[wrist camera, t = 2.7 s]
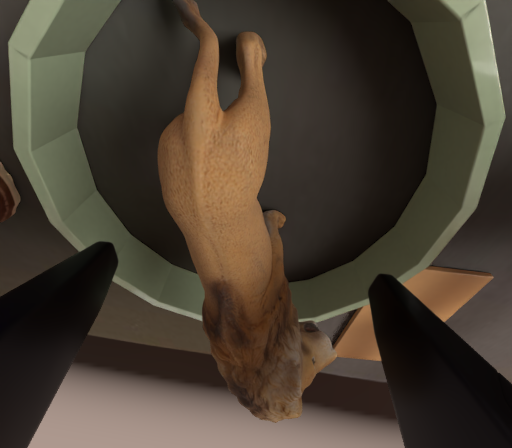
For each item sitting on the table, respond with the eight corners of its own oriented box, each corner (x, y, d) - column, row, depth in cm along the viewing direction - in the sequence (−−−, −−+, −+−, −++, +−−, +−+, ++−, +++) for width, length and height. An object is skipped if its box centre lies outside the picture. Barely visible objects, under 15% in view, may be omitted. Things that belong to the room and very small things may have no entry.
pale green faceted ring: (569, -32, 8) (695, -56, 6) (356, 301, 19) (369, 339, 17) (-27, -140, 7) (-172, -222, 5) (115, 275, 18) (93, 311, 16)
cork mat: (489, 272, 17) (494, 277, 16) (397, 358, 25) (399, 362, 25) (388, 261, 16) (391, 265, 16) (328, 351, 24) (329, 356, 24)
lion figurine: (317, 261, 17) (353, 432, 10) (242, 274, 18) (225, 437, 11) (248, -43, 8) (120, -491, 1) (111, 20, 9) (-389, 4, 2)
